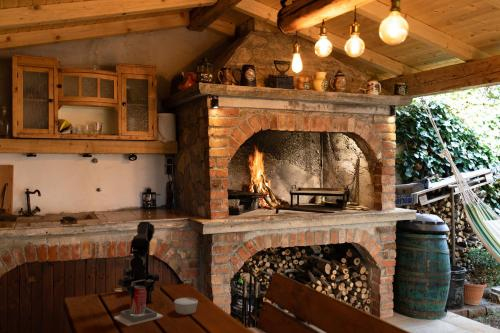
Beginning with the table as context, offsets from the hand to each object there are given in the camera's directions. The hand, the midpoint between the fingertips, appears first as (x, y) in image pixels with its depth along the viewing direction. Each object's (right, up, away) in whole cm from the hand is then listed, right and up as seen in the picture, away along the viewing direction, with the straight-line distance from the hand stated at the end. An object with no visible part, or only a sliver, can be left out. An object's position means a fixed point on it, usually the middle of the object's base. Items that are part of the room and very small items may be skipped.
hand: (139, 298), depth 212 cm
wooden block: (-14, -9, +42) cm, 46 cm away
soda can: (-1, -7, -1) cm, 7 cm away
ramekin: (+20, -10, +10) cm, 25 cm away
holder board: (0, -9, 0) cm, 9 cm away
